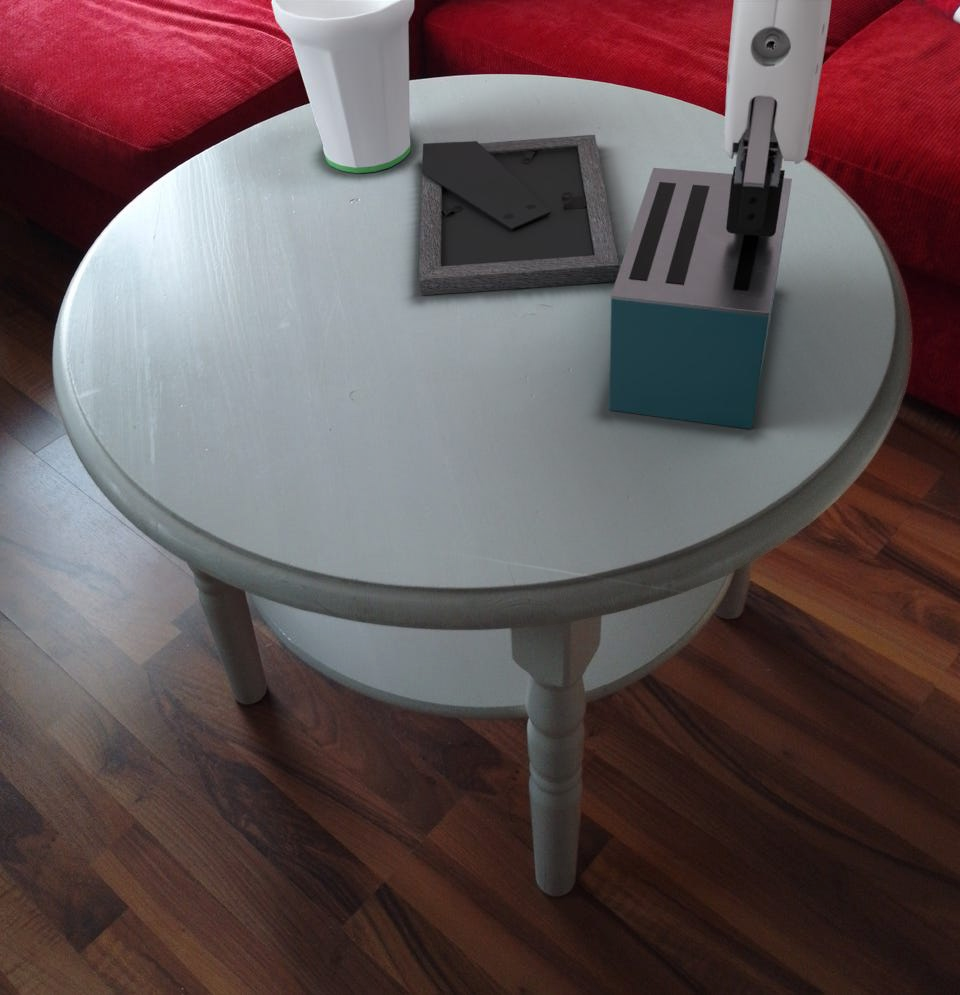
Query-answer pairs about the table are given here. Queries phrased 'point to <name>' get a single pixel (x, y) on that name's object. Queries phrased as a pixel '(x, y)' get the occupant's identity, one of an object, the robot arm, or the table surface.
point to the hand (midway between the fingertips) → (751, 227)
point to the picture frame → (514, 216)
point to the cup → (354, 76)
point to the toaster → (692, 304)
